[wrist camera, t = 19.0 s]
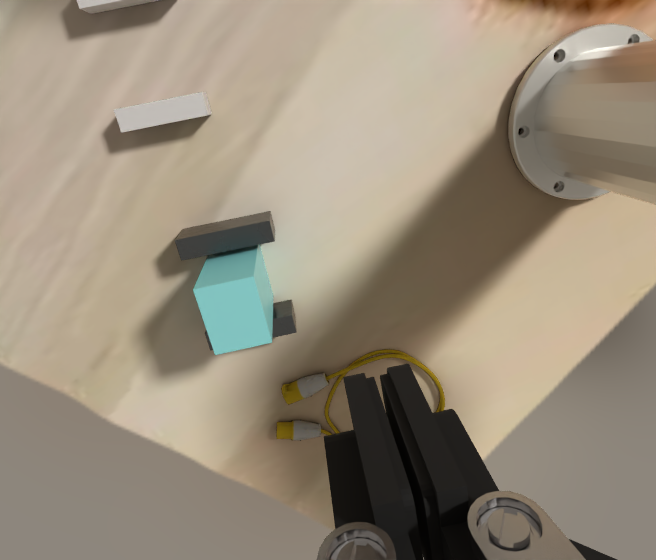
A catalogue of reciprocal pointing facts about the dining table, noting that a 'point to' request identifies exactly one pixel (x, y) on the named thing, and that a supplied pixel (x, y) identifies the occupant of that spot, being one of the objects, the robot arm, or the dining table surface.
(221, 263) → the turquoise rectangular block
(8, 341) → the dining table surface
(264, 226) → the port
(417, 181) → the dining table surface
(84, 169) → the dining table surface
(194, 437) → the dining table surface
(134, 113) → the pair of white bars
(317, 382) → the extension cord
